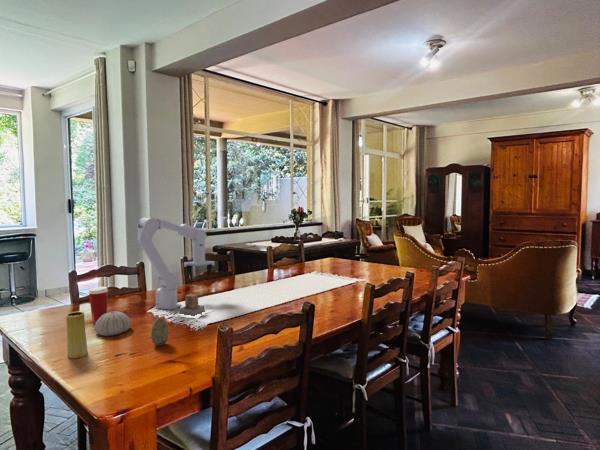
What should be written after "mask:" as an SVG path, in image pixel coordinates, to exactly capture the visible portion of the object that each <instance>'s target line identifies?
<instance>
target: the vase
mask: <svg viewBox="0 0 600 450" xmlns="http://www.w3.org/2000/svg"><path fill="white" fill-rule="evenodd" d="M65 316H66V317H65V318H66V328H67V329H66V333H67V335H66V336H67V358H68V357H69V359H78V358H79V357H80V358H84V357H86V356H87V355H88V354H89V352H88V344H87V343H88V342H87V334H86V323H85V322H86V321H85V312H84V311H72V312H69V313H67V314H66V315H65Z"/></svg>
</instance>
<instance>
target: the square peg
mask: <svg viewBox="0 0 600 450" xmlns="http://www.w3.org/2000/svg"><path fill="white" fill-rule="evenodd" d="M184 299H185V300H184V304H185V306H184V307H185V309H196V308H198V305H199V294H198V293H197V294H196V293H188V294H186V295H184Z"/></svg>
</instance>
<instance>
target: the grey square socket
mask: <svg viewBox="0 0 600 450" xmlns="http://www.w3.org/2000/svg"><path fill="white" fill-rule="evenodd" d="M210 309H211V308H206V307H205V305H202V304H201V305H200V304H198V308H196V309H185V306H183V307H180V308H179V309H178V312H179V314H184V315H191V316H195V315H197V314H201V315H202V312H205V311H206V310H210ZM211 310H213V309H211Z"/></svg>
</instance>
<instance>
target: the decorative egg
mask: <svg viewBox="0 0 600 450" xmlns="http://www.w3.org/2000/svg"><path fill="white" fill-rule="evenodd" d="M150 338H151V342H152V343H153V344H154V345H155V346H158V347H159V346H163V345H164V344H165V343H167V341H168V339H169V328H168V325H167V323H166V321H165V320H164V318H162V317H157V318H156V319H155V320H154V321H153V323H152V326H151V331H150Z"/></svg>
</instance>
